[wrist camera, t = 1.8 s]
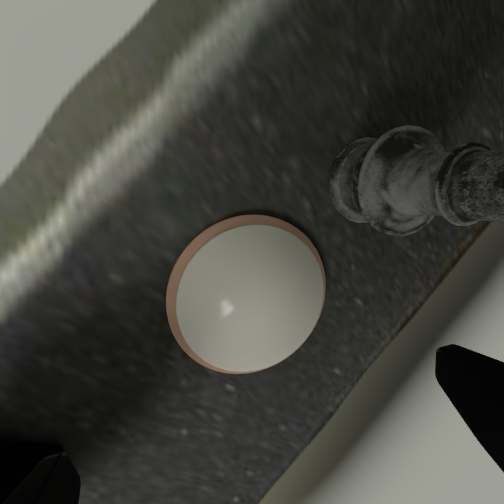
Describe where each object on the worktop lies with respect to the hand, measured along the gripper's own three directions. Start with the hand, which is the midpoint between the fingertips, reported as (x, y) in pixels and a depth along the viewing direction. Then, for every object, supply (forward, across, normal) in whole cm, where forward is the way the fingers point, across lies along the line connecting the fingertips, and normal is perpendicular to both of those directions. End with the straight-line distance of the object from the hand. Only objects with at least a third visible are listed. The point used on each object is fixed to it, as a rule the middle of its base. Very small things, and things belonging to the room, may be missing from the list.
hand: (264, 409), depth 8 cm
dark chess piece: (+14, -10, -1) cm, 18 cm away
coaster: (+12, -1, +4) cm, 13 cm away
